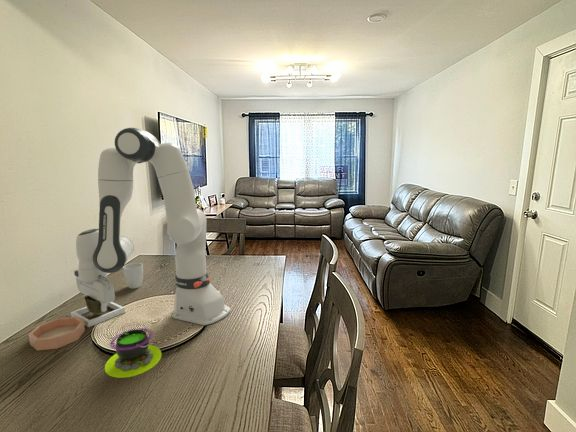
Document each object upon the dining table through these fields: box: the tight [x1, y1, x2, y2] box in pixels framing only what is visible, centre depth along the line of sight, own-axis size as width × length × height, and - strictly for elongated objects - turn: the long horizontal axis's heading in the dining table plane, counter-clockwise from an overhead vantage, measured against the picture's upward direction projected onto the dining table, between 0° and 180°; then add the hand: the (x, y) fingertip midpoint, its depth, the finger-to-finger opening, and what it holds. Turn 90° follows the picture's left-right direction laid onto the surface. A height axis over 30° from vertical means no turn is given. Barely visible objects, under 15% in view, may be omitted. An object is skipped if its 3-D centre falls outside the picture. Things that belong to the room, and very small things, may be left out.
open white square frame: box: [70, 301, 126, 328], centre depth 118 cm, size 13×13×2 cm
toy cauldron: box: [104, 321, 163, 379], centre depth 91 cm, size 15×15×11 cm
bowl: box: [28, 316, 86, 351], centre depth 103 cm, size 14×14×4 cm
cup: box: [122, 262, 144, 290], centre depth 144 cm, size 8×8×10 cm
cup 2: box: [84, 295, 105, 317], centre depth 118 cm, size 8×7×8 cm
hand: (97, 308), depth 118 cm, fingers closed on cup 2, 7 cm apart
